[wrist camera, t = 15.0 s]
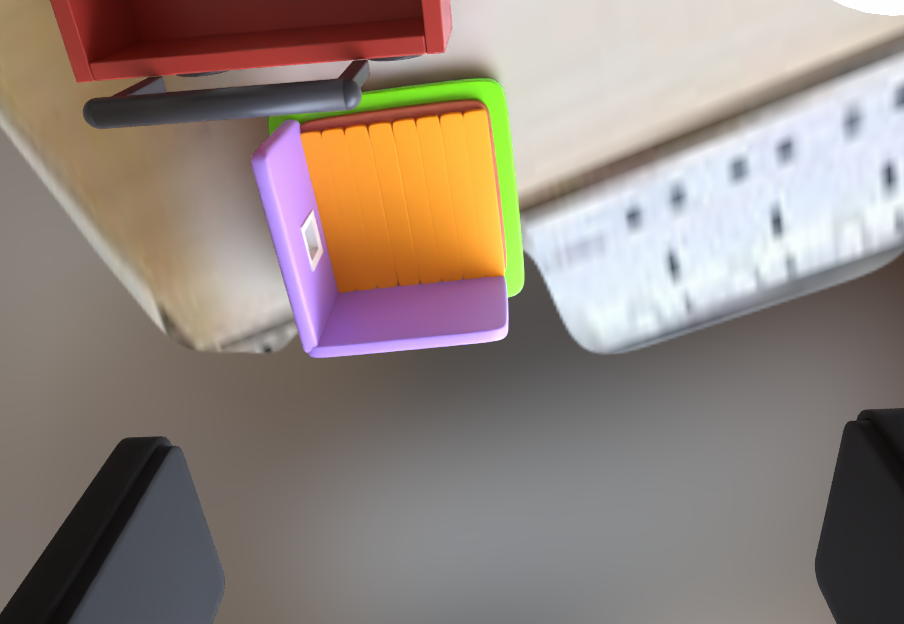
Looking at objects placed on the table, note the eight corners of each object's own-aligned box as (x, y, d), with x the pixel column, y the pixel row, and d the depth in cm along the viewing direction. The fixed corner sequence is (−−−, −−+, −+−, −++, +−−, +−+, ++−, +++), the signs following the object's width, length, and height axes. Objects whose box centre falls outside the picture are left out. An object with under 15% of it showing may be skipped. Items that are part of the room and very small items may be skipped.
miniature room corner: (318, 313, 42) (289, 381, 36) (263, 104, 36) (218, 144, 30) (527, 292, 41) (533, 359, 35) (504, 71, 35) (507, 106, 29)
